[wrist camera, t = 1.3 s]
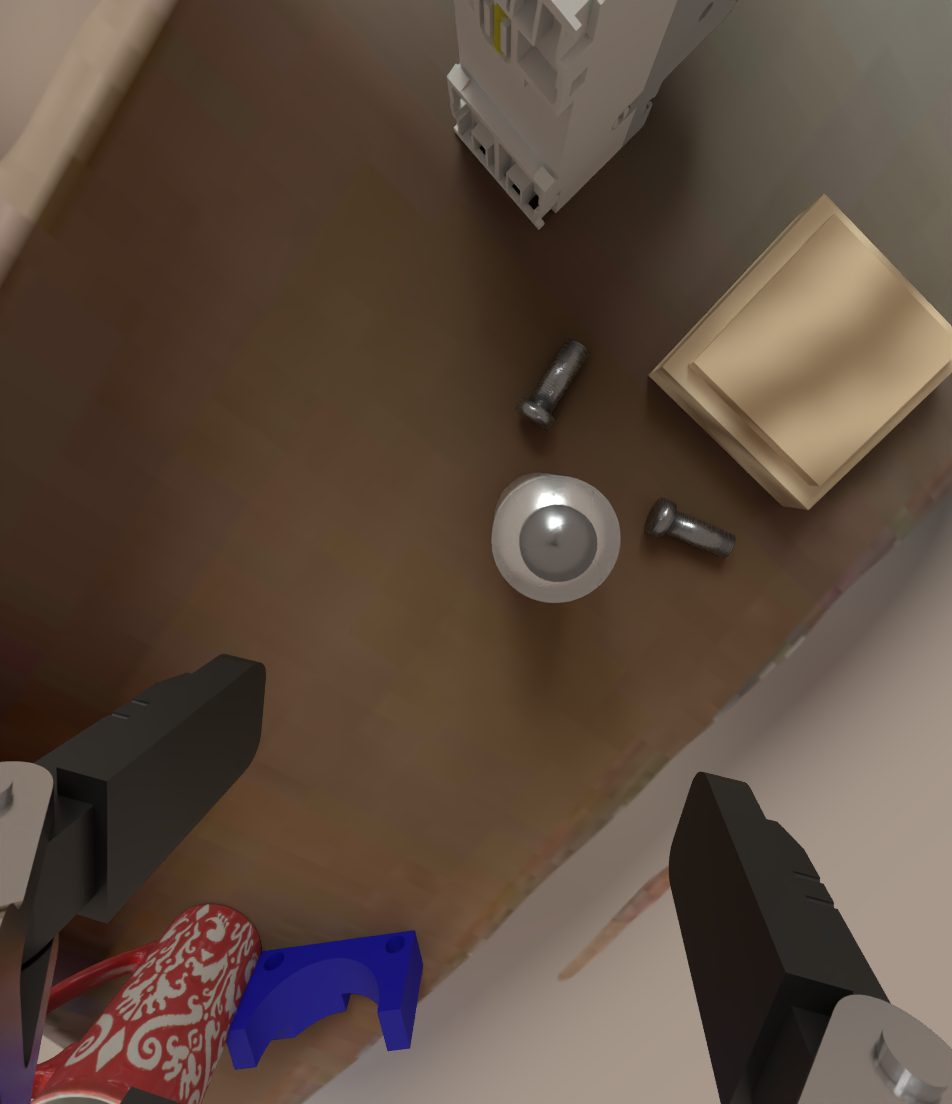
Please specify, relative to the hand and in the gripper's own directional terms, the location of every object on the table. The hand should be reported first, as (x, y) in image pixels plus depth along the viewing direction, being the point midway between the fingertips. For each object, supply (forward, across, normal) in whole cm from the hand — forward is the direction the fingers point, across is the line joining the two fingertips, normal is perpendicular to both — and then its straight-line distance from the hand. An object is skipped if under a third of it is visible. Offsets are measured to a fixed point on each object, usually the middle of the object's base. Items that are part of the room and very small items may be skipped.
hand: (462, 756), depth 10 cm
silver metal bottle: (+27, 0, 0) cm, 27 cm away
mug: (+22, +19, +36) cm, 46 cm away
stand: (+29, -13, -12) cm, 34 cm away
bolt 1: (+28, 0, -8) cm, 29 cm away
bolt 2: (+28, -10, -1) cm, 29 cm away
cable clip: (+23, +7, +36) cm, 44 cm away
